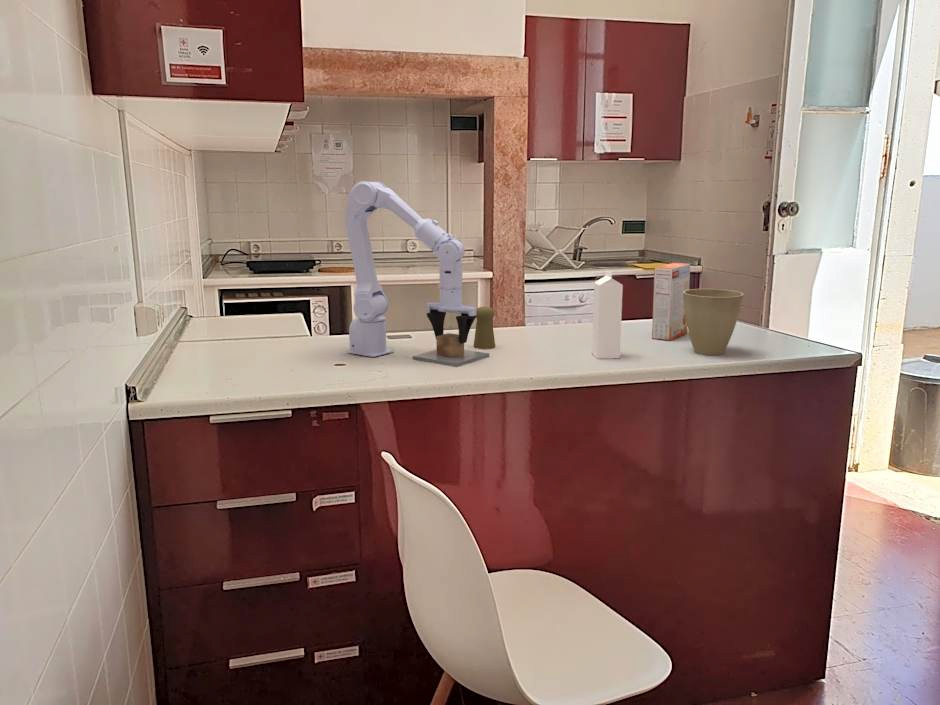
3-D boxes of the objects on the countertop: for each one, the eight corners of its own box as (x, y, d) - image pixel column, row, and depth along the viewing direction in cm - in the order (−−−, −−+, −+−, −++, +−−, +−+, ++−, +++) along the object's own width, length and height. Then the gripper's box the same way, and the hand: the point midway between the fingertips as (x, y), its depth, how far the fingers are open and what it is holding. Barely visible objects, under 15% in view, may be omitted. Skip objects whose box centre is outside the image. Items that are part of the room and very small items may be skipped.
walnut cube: (436, 355, 192) (436, 336, 191) (448, 352, 196) (448, 333, 195) (452, 358, 189) (452, 338, 188) (464, 354, 193) (464, 335, 192)
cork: (493, 349, 203) (493, 309, 200) (471, 348, 204) (471, 308, 202) (497, 345, 208) (497, 305, 206) (476, 344, 210) (476, 305, 207)
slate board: (412, 359, 192) (412, 356, 192) (446, 349, 203) (446, 346, 203) (456, 366, 184) (456, 363, 183) (489, 356, 195) (489, 353, 194)
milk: (614, 353, 198) (618, 269, 193) (619, 358, 192) (624, 272, 187) (591, 353, 198) (594, 269, 193) (596, 358, 192) (599, 272, 187)
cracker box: (668, 331, 228) (672, 262, 223) (687, 333, 224) (692, 263, 220) (649, 338, 217) (653, 266, 212) (670, 341, 213) (674, 267, 209)
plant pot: (669, 348, 204) (672, 289, 201) (718, 345, 208) (722, 287, 204) (698, 360, 190) (702, 297, 187) (750, 357, 194) (755, 295, 190)
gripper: (418, 287, 190) (419, 340, 193) (464, 292, 182) (464, 347, 185) (436, 284, 196) (436, 335, 199) (481, 289, 187) (481, 342, 190)
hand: (451, 341), depth 192 cm, fingers open, 7 cm apart
